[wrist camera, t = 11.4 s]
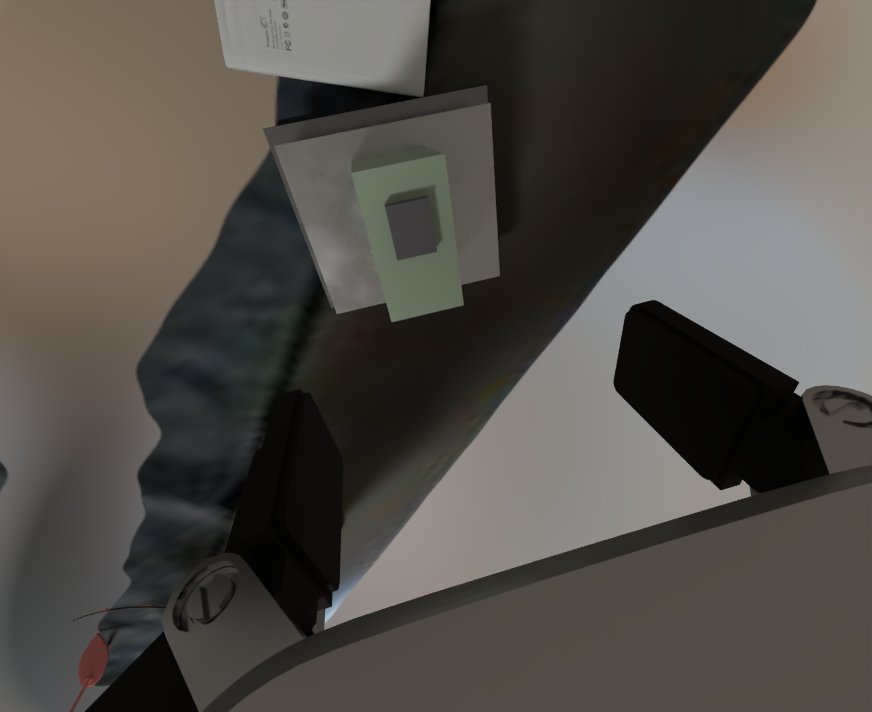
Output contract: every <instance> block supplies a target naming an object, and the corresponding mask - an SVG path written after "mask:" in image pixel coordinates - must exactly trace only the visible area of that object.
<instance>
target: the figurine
mask: <svg viewBox="0 0 872 712" xmlns="http://www.w3.org/2000/svg"><path fill="white" fill-rule="evenodd" d="M142 607H153V608H166V607H155V606H152V605H143V606H138V607H124V608H117V609H125V608H142ZM107 609H108V608H107ZM117 609H110V610H117ZM103 610H105V609H103ZM110 610H105V611H110ZM105 611H101V612H105ZM96 613H100V612H96ZM92 614H95V613H92ZM92 614H89V615H92ZM85 616H88V615H85ZM85 616H83V617H85ZM80 618H82V617H80ZM77 619H79V618H77ZM77 619H75V620H77ZM73 621H74V620H73ZM109 646H110V644H107V645H106V643H105V641H104V639H103V638H102V636H101V635H100V634H99V633H97V634H96V636H95V637H94V638H93V640H92V641H91V642H90V644H89V646H88V647H87V649H86V650H85V651H84V653H83V655H82V658H81V660H80V663H79V669H78V675H79V679H80V683H81V685H83V686H84V687H83V689H82V690H81V692H80V694H79V696H78V698H77V699H76V701H75V703H74V705H73V707H72V709H71V710H70V712H73V711H74V709H75V707H76V705H77V703H78V701H79V700H80V698H81V696H82V694H83V692H84V690H85V689H86V688H88V687H89V686H90V685H91V687H92V686H93V685H94V684H95V683H97V682H98V681H99V680H100V679H101V677H102V674H103V672H104V670H105V668H106V666H107V662H108V657H109V654H108V648H109Z"/></svg>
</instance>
